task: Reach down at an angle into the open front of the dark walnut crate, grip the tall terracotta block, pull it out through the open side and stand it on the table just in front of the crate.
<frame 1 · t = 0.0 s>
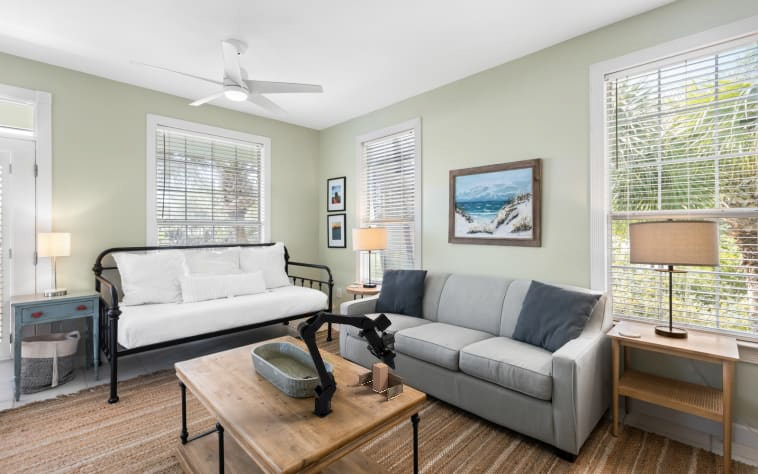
hand: (389, 365, 160), 15 cm above the table, tool tilted 35°, fingers open, 9 cm apart
build plate: (307, 387, 172), on the table
terracotta block: (380, 390, 168), resting in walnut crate
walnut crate: (380, 390, 168), on the table
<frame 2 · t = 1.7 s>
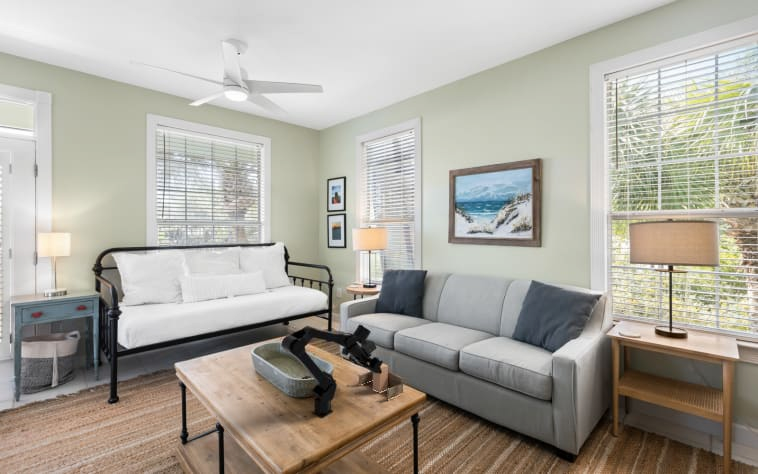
hand: (374, 369, 166), 11 cm above the table, tool tilted 45°, fingers open, 9 cm apart
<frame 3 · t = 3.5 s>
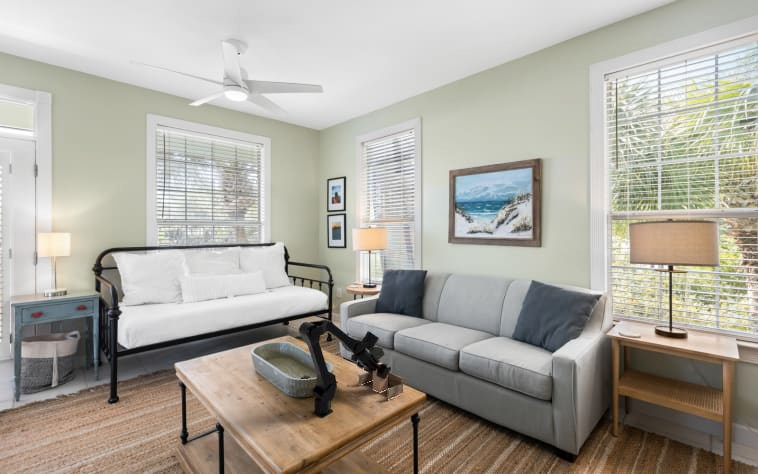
hand: (382, 375, 169), 7 cm above the table, tool tilted 45°, fingers closed on terracotta block, 5 cm apart
terracotta block: (380, 390, 168), resting in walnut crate, touching gripper
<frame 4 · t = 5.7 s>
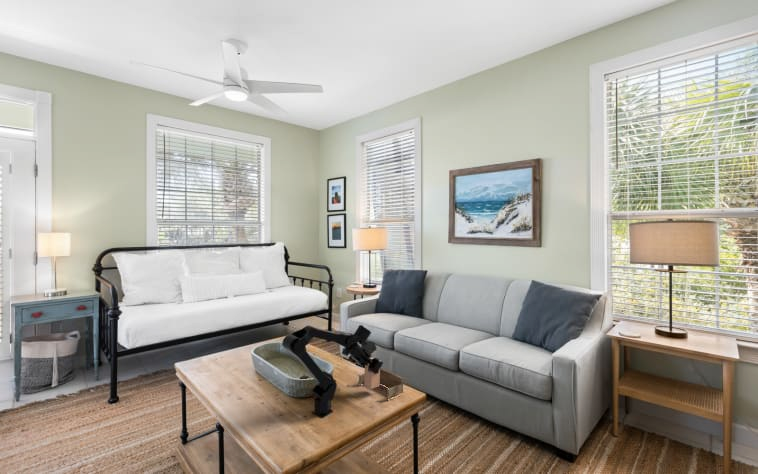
hand: (374, 370, 166), 10 cm above the table, tool tilted 45°, fingers closed on terracotta block, 5 cm apart
terracotta block: (371, 385, 165), point 4 cm above the table, touching gripper
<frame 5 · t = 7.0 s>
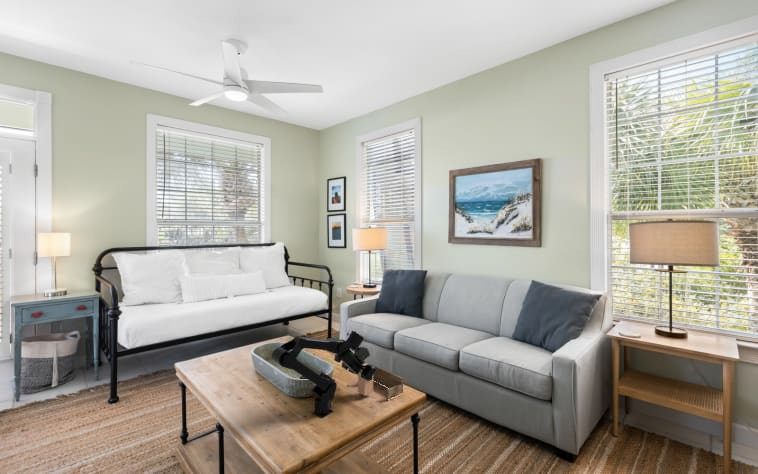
hand: (367, 377, 163), 8 cm above the table, tool tilted 45°, fingers closed on terracotta block, 5 cm apart
terracotta block: (365, 392, 162), point 2 cm above the table, touching gripper
when the fingers open (8 cm above the table, at t = 7.8 s): terracotta block drops 1 cm, on the table.
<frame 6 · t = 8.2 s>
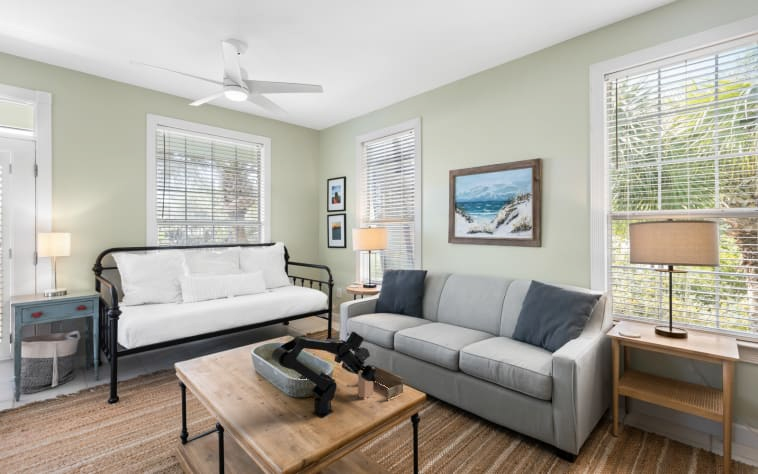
hand: (368, 377, 163), 8 cm above the table, tool tilted 45°, fingers open, 9 cm apart
terracotta block: (365, 395, 162), on the table
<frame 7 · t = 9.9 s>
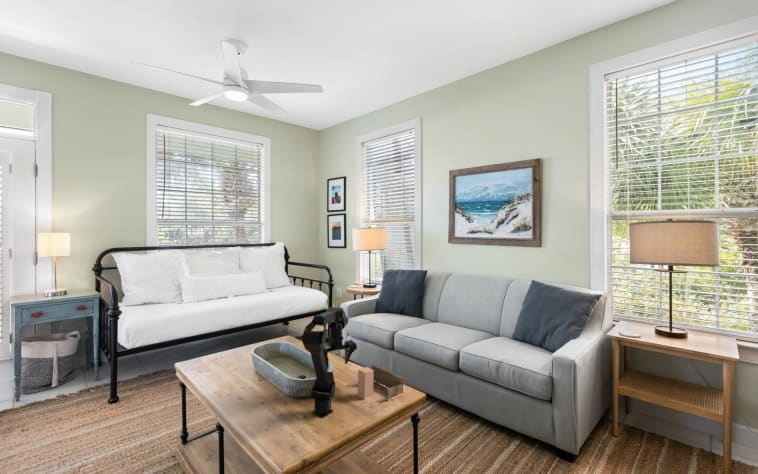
hand: (336, 366, 163), 13 cm above the table, tool pointing down, fingers open, 9 cm apart
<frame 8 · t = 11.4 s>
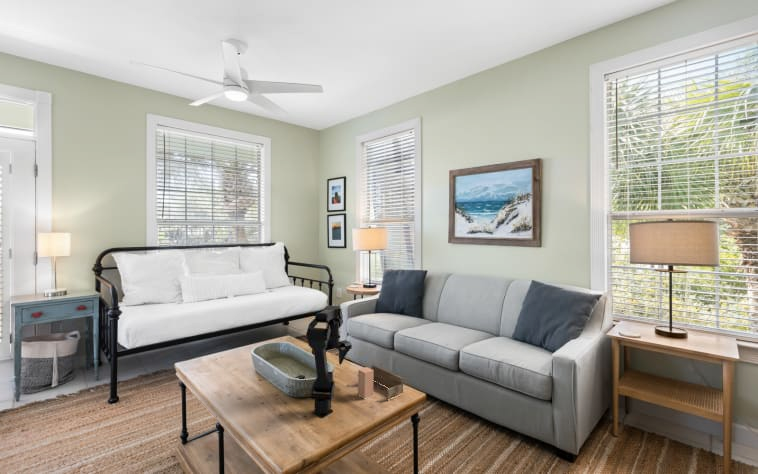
hand: (332, 366, 162), 13 cm above the table, tool pointing down, fingers open, 9 cm apart
at the end: terracotta block inside the target area (1.7 cm from its centre), on the table; terracotta block tilted 0°; the gripper is holding nothing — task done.
